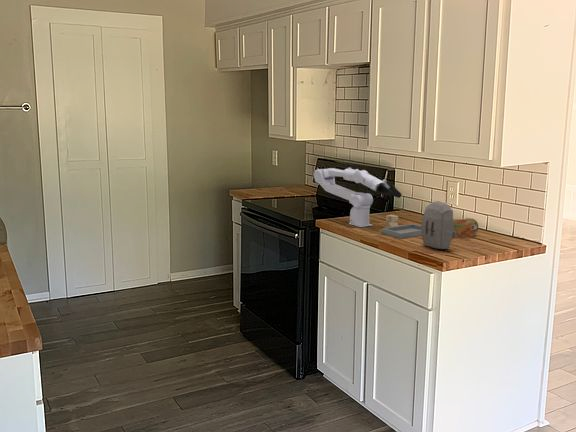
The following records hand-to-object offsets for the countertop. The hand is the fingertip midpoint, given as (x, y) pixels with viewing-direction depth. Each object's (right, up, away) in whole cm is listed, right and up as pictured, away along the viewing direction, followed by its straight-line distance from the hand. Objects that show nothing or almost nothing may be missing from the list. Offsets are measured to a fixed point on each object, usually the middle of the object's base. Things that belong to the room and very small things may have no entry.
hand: (396, 195), depth 264 cm
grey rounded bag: (+12, -23, -24) cm, 36 cm away
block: (0, -16, +13) cm, 20 cm away
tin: (+30, -19, -3) cm, 36 cm away
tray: (+5, -18, +1) cm, 19 cm away
